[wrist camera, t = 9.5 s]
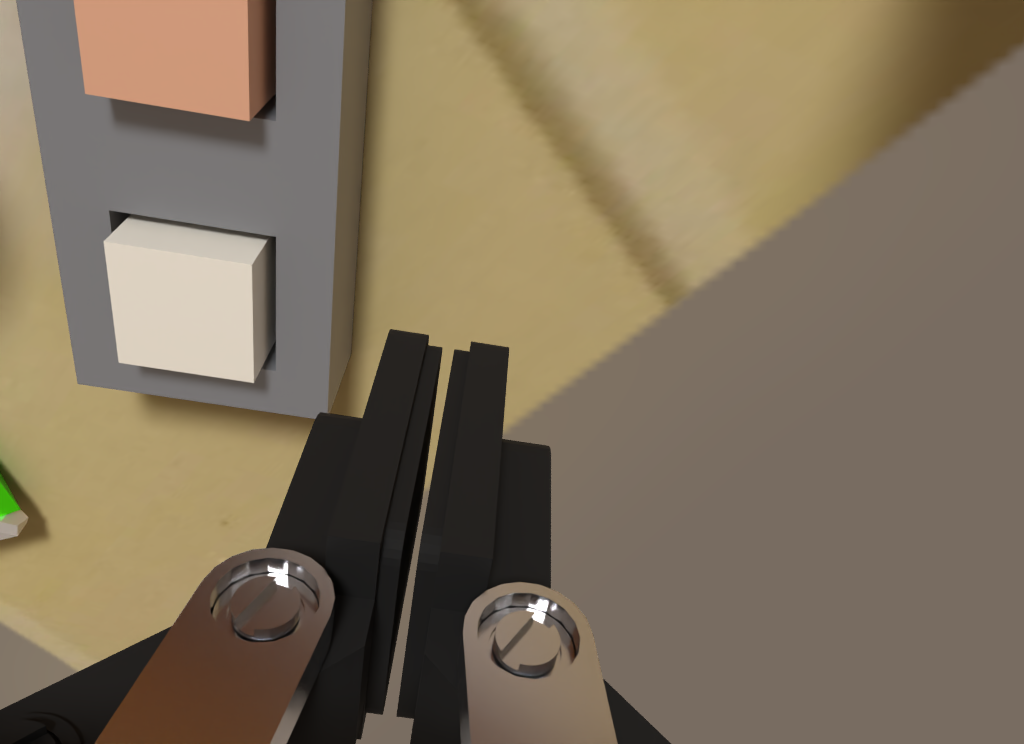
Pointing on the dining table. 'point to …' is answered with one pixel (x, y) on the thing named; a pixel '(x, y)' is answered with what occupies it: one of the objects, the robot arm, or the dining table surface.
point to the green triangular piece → (10, 513)
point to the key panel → (215, 195)
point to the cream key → (192, 297)
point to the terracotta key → (180, 53)
